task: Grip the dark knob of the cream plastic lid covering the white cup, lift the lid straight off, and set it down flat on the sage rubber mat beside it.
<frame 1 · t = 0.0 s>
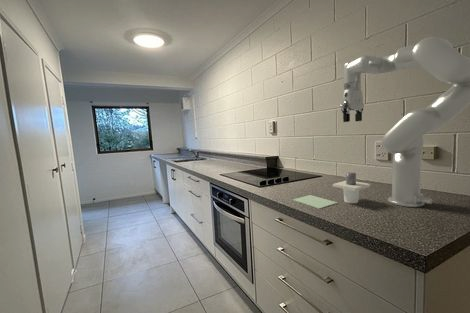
hand: (352, 121, 113), 37 cm above the worktop, tool pointing down, fingers open, 9 cm apart
mat: (314, 201, 105), on the worktop
white cup: (351, 201, 102), on the worktop, touching lid
lid: (351, 186, 101), point 7 cm above the worktop, touching white cup
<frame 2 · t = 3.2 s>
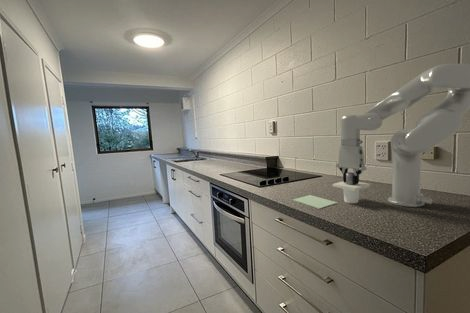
hand: (350, 182, 101), 9 cm above the worktop, tool pointing down, fingers closed on lid, 4 cm apart
lid: (351, 186, 101), point 7 cm above the worktop, touching gripper, white cup
everything else where it was.
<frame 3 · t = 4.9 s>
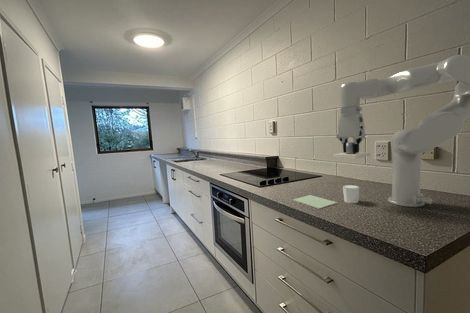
hand: (351, 152, 99), 23 cm above the worktop, tool pointing down, fingers closed on lid, 4 cm apart
white cup: (351, 201, 102), on the worktop
lid: (351, 156, 100), point 21 cm above the worktop, touching gripper
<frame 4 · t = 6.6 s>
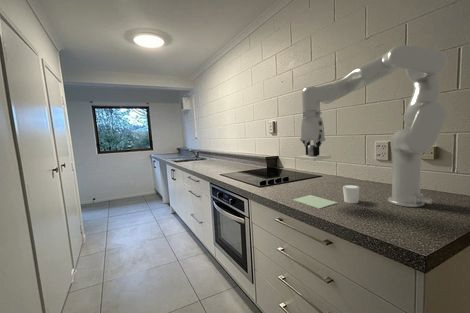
hand: (312, 154, 102), 22 cm above the worktop, tool pointing down, fingers closed on lid, 4 cm apart
lid: (312, 158, 102), point 21 cm above the worktop, touching gripper
everything else where it was.
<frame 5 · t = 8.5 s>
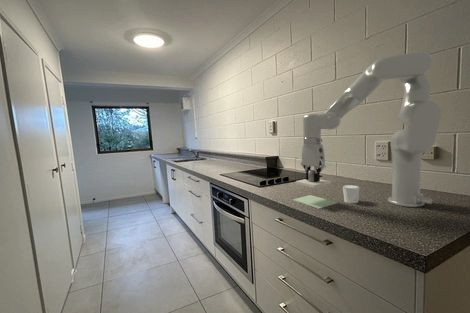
hand: (312, 180, 104), 11 cm above the worktop, tool pointing down, fingers closed on lid, 4 cm apart
lid: (312, 183, 104), point 9 cm above the worktop, touching gripper
everything else where it was.
when the fingers open (4 cm above the worktop, at t = 10.1 s): lid drops 2 cm, resting on mat.
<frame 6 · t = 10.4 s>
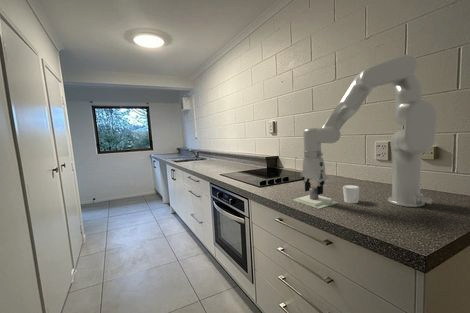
hand: (313, 192, 104), 5 cm above the worktop, tool pointing down, fingers open, 6 cm apart
lid: (314, 200, 105), resting on mat
everything else where it was.
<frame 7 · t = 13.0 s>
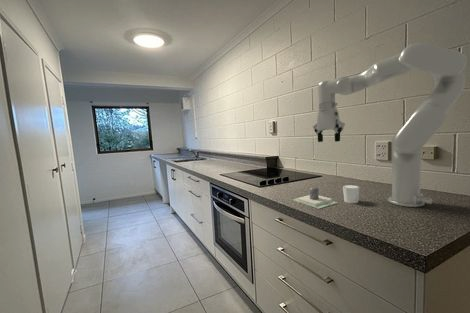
hand: (328, 141, 110), 28 cm above the worktop, tool pointing down, fingers open, 9 cm apart
nothing on the worktop moved.
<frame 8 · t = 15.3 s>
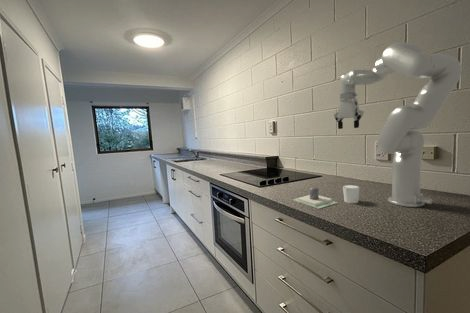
hand: (348, 128, 124), 33 cm above the worktop, tool pointing down, fingers open, 9 cm apart
nothing on the worktop moved.
at the end: lid inside the target area on the mat (0.0 cm from its centre), point 0.4 cm above the mat's base; white cup tilted 0°; white cup moved 0.2 cm from its start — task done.
